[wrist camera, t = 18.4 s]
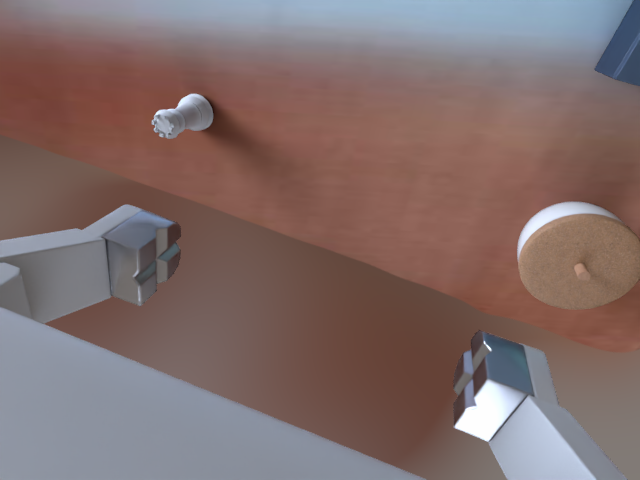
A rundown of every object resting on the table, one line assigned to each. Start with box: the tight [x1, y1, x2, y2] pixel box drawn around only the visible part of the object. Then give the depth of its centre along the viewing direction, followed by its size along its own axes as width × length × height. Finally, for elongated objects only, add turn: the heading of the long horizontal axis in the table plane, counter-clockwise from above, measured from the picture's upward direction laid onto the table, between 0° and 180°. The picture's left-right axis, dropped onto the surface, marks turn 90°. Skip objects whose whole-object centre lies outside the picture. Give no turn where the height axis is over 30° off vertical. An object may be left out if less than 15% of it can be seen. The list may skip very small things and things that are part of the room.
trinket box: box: [517, 202, 640, 309], centre depth 42 cm, size 11×11×9 cm
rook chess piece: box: [152, 94, 213, 139], centre depth 48 cm, size 4×4×8 cm
